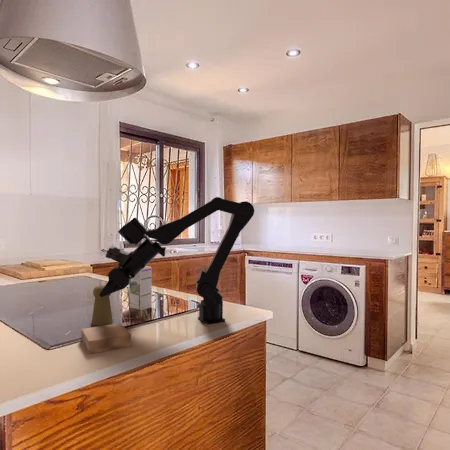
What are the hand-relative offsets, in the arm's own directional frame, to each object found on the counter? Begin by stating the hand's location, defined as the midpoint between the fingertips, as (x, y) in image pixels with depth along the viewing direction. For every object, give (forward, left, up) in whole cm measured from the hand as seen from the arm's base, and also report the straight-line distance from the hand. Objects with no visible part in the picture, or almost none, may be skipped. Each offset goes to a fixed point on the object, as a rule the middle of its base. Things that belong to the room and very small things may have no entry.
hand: (103, 292), depth 107 cm
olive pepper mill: (0, 0, -9) cm, 9 cm away
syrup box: (-15, -10, -9) cm, 20 cm away
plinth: (+3, +18, -9) cm, 20 cm away
